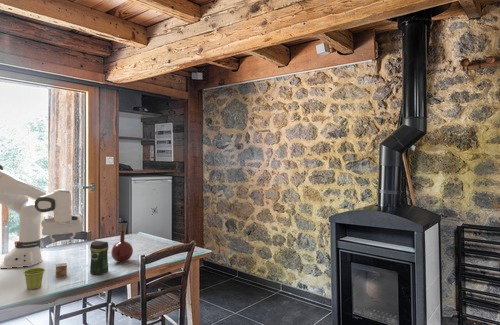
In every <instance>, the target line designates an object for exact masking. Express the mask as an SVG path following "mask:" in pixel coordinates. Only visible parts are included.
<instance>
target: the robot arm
mask: <svg viewBox="0 0 500 325" xmlns="http://www.w3.org/2000/svg"><path fill="white" fill-rule="evenodd" d="M0 204H1V205H2V206H4V207H6V208H8V209H10V210H12V211H14V212H15V213H17V214H19V225H18V227H19V228H18V240H15V241H14V248H12V249H11V250H10V251H8V252H7V253H6V254H5V255H4V258H3V261H2V262H0V269H1V268H7V269H13V268H12V267H17V268H24V267H23V266H28V267H32V266H34V265H37V264H40V263H42V262H43V261H44V259H43V257H42V253H41V252H42V251H41V248H42V240H41V234H42V236H48V237H49V239H50V240H51V243H52V244H54V243H55V242H56V239H55V238H53V236H54V235H64V234H72V236H70V241H71V242H72V241H74V237H75V236H76V235H77V233H81V232H83V224H82V221H81V216H80V215H79V214H76V213H72V208H71V207H72V194H71V192H70V190H68V189H64V188H57V189H55V190H53V191H52V192H49V191H46V190H44V189H41V188H39V187H36V186H34V185H32V184H30V183H27V182H25V181H24V180H22V179H20V178H18V177H17V176H14V175H13V174H10V173H8V172H7V171H5V170H4V166H3V165H2V164H1V163H0ZM49 212H53V217H51V218H44V219H42V213H45V214H46V213H49ZM41 227H42V229H41Z"/></svg>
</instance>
